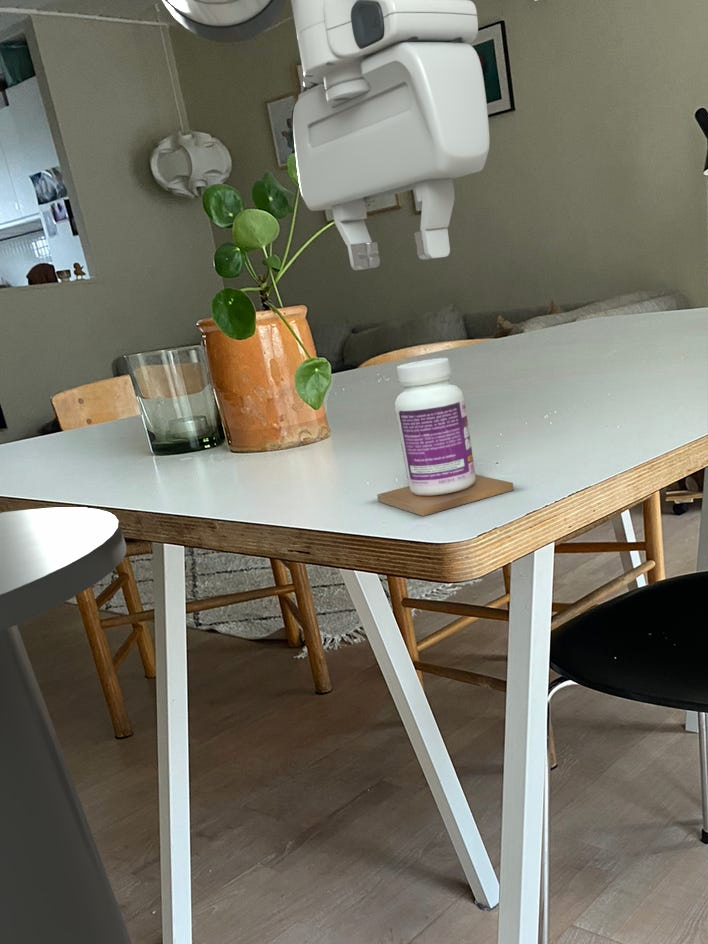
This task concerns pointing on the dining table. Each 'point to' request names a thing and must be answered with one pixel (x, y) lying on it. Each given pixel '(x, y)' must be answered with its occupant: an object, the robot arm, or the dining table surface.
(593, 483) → the dining table surface
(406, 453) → the pill bottle
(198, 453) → the dining table surface
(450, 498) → the coaster
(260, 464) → the dining table surface
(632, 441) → the dining table surface
